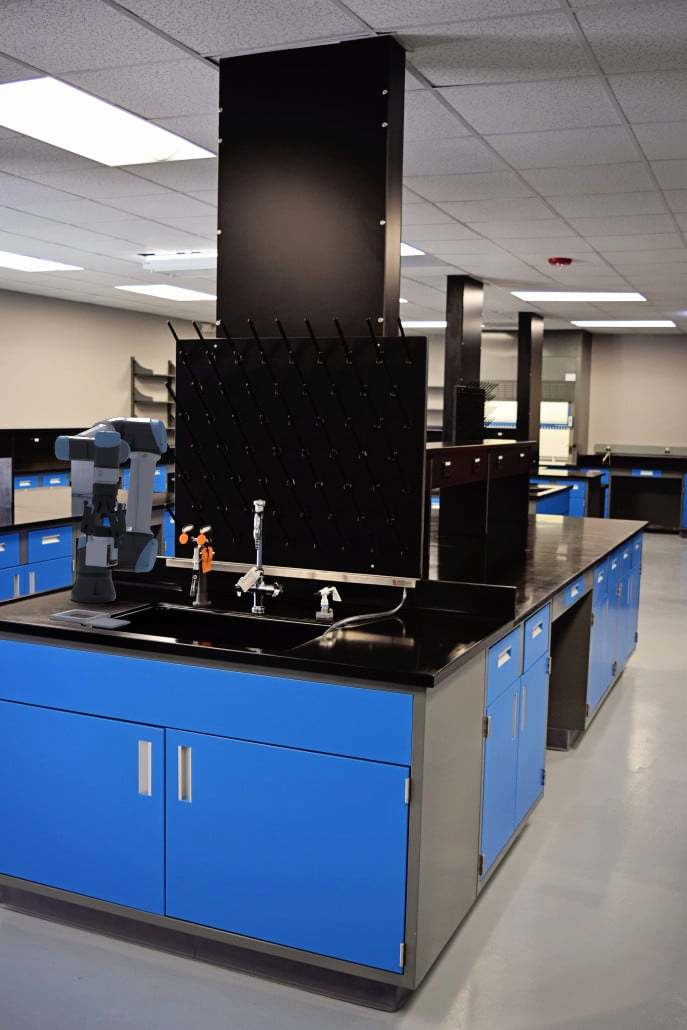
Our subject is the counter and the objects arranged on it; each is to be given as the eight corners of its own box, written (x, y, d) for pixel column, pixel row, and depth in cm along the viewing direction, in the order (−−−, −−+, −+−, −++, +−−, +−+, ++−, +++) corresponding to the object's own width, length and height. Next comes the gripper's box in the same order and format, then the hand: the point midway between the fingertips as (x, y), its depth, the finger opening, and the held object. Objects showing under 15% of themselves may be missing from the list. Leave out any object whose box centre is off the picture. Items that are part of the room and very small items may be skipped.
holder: (75, 612, 300) (75, 609, 300) (110, 617, 296) (110, 613, 296) (49, 618, 288) (49, 614, 288) (86, 623, 284) (86, 619, 283)
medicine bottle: (106, 567, 280) (108, 527, 280) (84, 565, 282) (86, 525, 282) (117, 565, 287) (119, 525, 287) (96, 563, 289) (98, 524, 288)
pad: (102, 619, 292) (102, 617, 292) (130, 623, 288) (130, 621, 288) (83, 624, 282) (83, 622, 282) (111, 628, 279) (111, 626, 279)
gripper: (69, 480, 284) (66, 555, 285) (127, 484, 276) (123, 561, 278) (85, 480, 291) (81, 554, 292) (141, 484, 283) (137, 560, 285)
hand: (102, 557), depth 285 cm, fingers closed on medicine bottle, 7 cm apart
